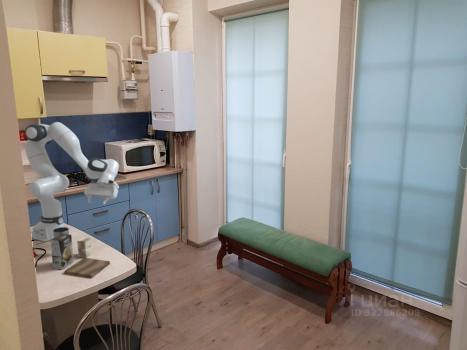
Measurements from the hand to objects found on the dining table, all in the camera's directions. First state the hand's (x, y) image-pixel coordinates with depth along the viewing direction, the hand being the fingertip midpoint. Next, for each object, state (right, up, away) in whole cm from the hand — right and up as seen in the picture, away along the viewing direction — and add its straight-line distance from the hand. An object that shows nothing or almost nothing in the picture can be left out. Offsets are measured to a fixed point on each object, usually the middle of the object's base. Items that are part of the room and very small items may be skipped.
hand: (96, 203), depth 212 cm
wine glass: (-17, -29, -6) cm, 34 cm away
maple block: (-4, -29, -7) cm, 30 cm away
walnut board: (+4, -33, -21) cm, 39 cm away
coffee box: (-11, -32, -18) cm, 38 cm away
